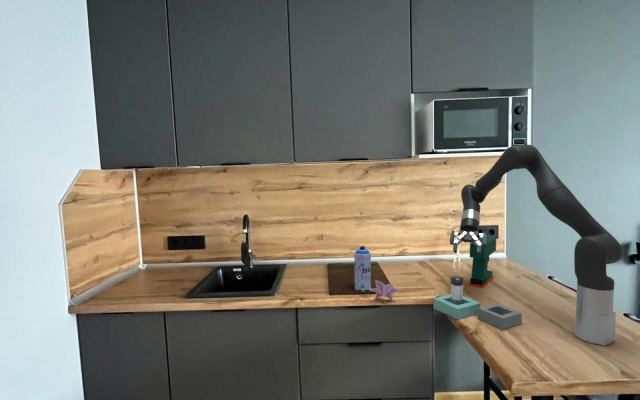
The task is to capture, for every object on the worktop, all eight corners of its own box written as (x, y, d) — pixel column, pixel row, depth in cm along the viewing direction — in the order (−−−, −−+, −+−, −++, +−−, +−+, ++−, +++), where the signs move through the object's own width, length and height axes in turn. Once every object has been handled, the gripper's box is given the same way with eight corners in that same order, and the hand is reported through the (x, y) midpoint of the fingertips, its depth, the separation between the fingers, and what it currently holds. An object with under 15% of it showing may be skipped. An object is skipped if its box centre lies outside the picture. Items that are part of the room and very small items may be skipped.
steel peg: (466, 311, 134) (466, 278, 132) (456, 314, 131) (457, 280, 130) (456, 307, 138) (456, 275, 137) (447, 309, 136) (447, 277, 135)
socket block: (521, 323, 122) (522, 312, 122) (502, 329, 118) (503, 318, 118) (496, 313, 131) (496, 303, 131) (477, 318, 127) (478, 308, 126)
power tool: (485, 269, 187) (486, 233, 186) (499, 271, 183) (500, 234, 181) (467, 285, 163) (468, 243, 161) (483, 288, 158) (484, 245, 157)
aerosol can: (360, 292, 156) (360, 248, 155) (351, 287, 163) (350, 245, 162) (374, 289, 160) (374, 246, 158) (364, 284, 167) (364, 243, 165)
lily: (405, 306, 143) (402, 282, 147) (390, 302, 135) (388, 278, 139) (380, 308, 150) (378, 286, 154) (364, 305, 142) (363, 282, 146)
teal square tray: (480, 313, 132) (480, 303, 131) (457, 319, 127) (457, 309, 126) (455, 302, 142) (455, 293, 142) (433, 308, 137) (433, 298, 137)
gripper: (452, 216, 153) (447, 246, 144) (487, 217, 146) (485, 250, 137) (453, 226, 158) (449, 256, 149) (488, 228, 151) (485, 260, 142)
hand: (466, 253), depth 143 cm, fingers open, 8 cm apart
